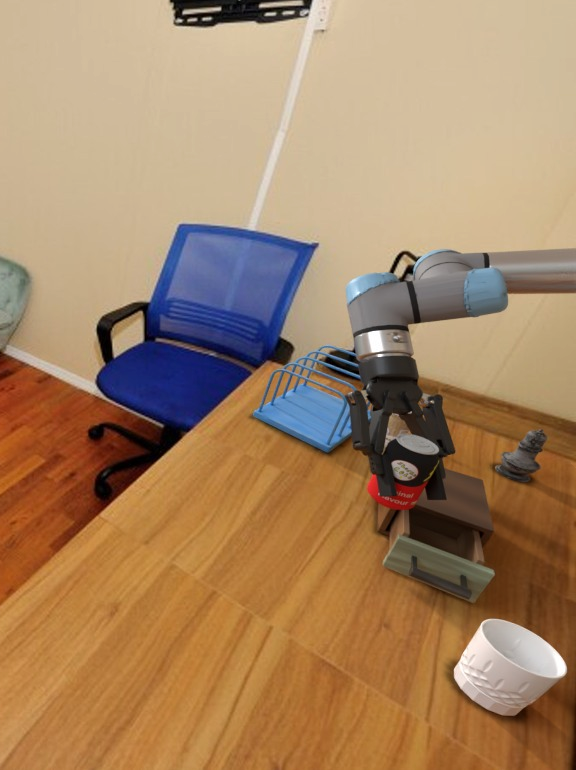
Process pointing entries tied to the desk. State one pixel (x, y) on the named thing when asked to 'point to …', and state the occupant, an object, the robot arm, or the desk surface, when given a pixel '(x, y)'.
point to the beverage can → (407, 470)
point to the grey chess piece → (523, 457)
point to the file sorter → (310, 406)
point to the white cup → (507, 667)
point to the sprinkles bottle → (395, 428)
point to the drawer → (438, 553)
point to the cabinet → (452, 505)
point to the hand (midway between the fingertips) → (412, 497)
